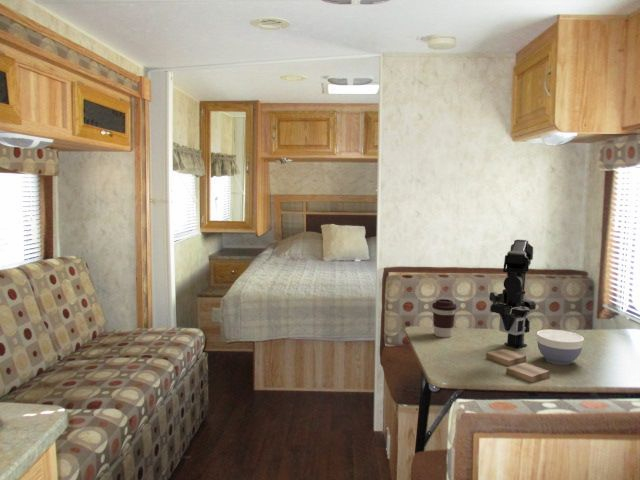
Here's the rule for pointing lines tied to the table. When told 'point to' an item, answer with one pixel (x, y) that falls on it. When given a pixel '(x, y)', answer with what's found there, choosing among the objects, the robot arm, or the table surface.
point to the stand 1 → (506, 357)
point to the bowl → (559, 346)
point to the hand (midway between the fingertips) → (511, 329)
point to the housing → (514, 325)
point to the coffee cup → (443, 317)
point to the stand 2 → (527, 372)
